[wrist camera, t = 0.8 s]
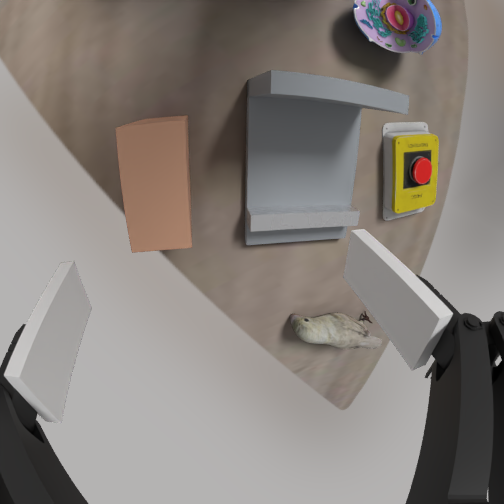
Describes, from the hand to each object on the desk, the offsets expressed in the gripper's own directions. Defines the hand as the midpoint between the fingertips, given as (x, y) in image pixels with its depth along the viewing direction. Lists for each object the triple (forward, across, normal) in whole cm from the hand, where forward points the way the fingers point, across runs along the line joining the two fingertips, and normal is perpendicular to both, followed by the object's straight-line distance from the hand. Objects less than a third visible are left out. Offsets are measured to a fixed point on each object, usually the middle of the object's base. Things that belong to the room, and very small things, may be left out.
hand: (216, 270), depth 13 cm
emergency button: (+22, +30, -1) cm, 37 cm away
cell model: (+22, +23, +20) cm, 38 cm away
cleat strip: (+20, +12, -6) cm, 25 cm away
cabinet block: (+22, -4, +1) cm, 22 cm away
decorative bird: (+22, +20, -27) cm, 40 cm away
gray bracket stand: (+22, +12, 0) cm, 25 cm away
